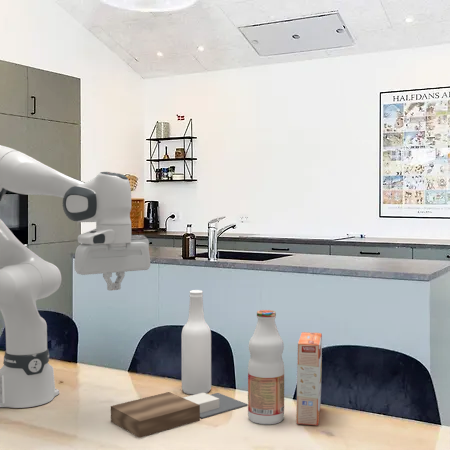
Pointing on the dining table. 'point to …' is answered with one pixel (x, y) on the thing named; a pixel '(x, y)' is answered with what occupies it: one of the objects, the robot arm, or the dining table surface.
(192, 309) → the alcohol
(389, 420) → the dining table surface
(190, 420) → the board
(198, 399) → the tile
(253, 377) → the fruit juice
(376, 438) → the dining table surface
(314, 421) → the cracker box
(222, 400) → the mat
